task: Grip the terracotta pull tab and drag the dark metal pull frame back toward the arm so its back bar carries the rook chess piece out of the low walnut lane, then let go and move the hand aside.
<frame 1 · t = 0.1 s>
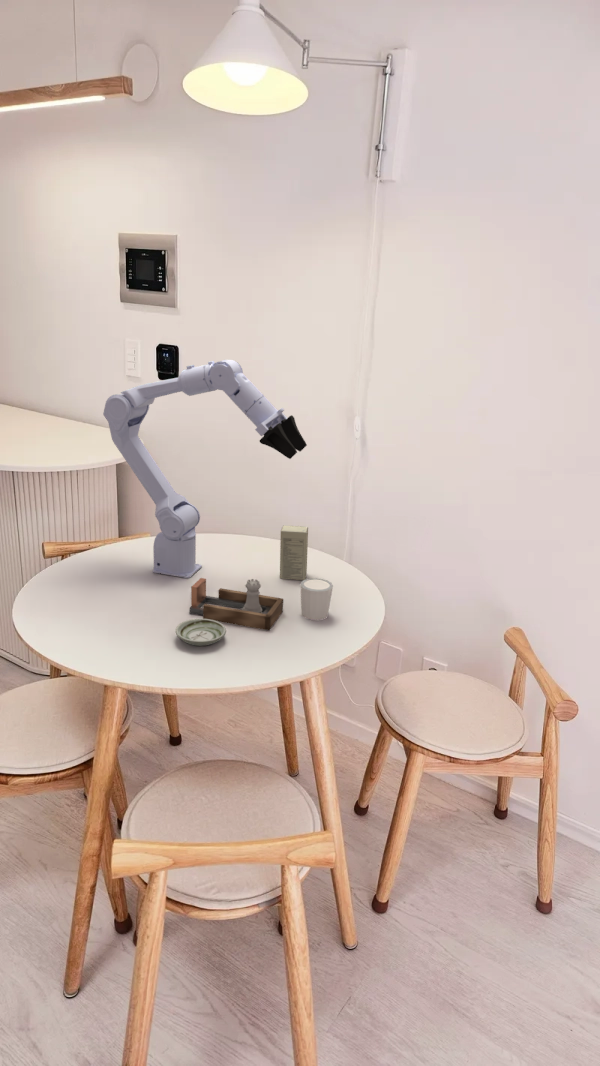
hand: (298, 452, 150), 32 cm above the table, tool tilted 50°, fingers open, 7 cm apart
shot glass: (314, 615, 148), on the table
pull frame: (231, 600, 146), point 3 cm above the table, slide at 0.0 cm
walnut lane: (243, 614, 146), on the table
rook chess piece: (252, 617, 146), resting in pull frame
skincare box: (292, 577, 167), on the table
saucer: (200, 641, 135), on the table
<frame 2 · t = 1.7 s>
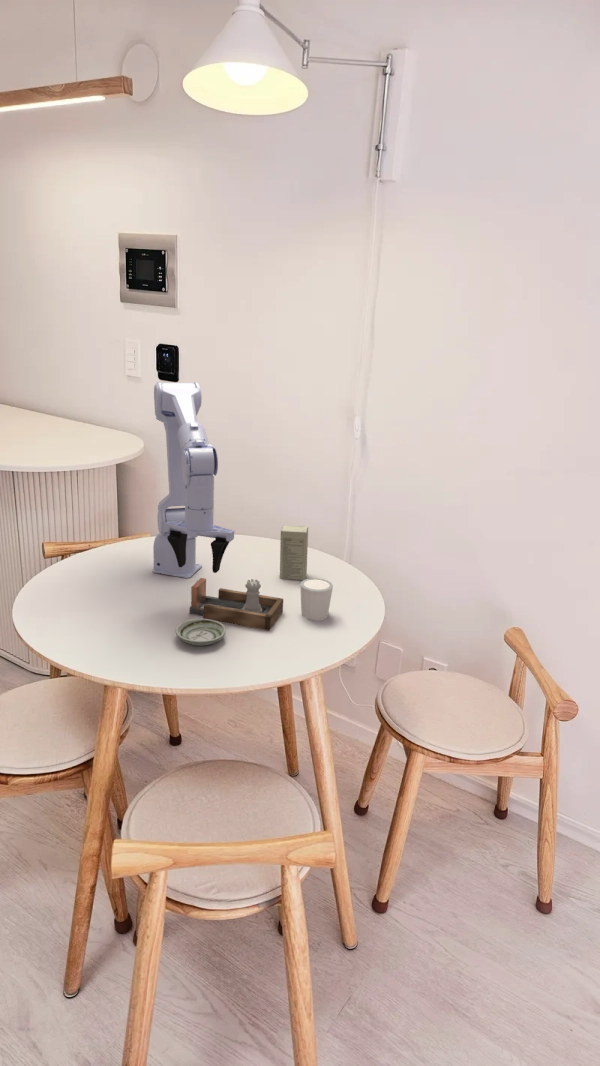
hand: (198, 568, 145), 9 cm above the table, tool pointing down, fingers open, 7 cm apart
nothing on the table moved.
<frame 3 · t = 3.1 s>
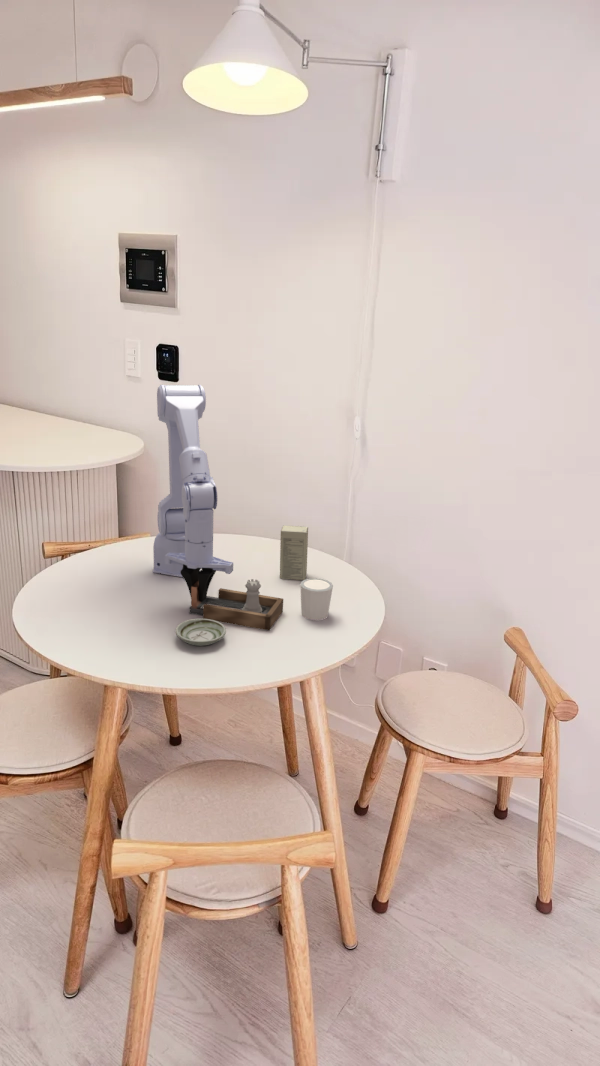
hand: (198, 599, 148), 2 cm above the table, tool pointing down, fingers closed on pull frame
pull frame: (231, 600, 146), point 3 cm above the table, slide at 0.0 cm, touching gripper
everything else where it was.
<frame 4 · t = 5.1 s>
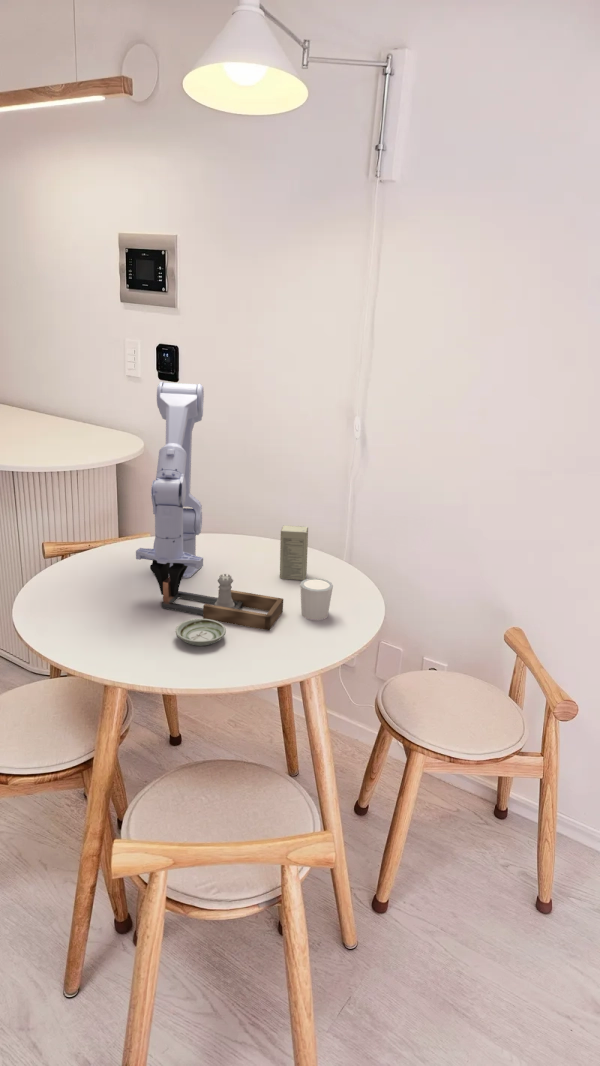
hand: (169, 594, 149), 2 cm above the table, tool pointing down, fingers closed
pull frame: (202, 595, 147), point 3 cm above the table, slide at 6.4 cm, touching gripper
rook chess piece: (224, 612, 147), resting in pull frame
everything else where it was.
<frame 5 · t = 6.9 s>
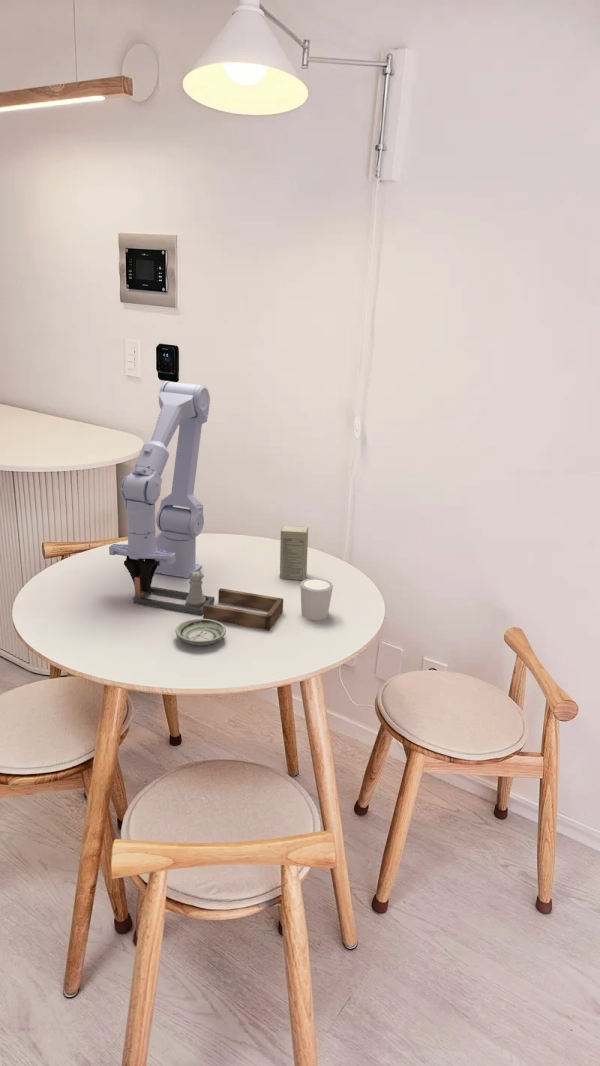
hand: (142, 589, 151), 2 cm above the table, tool pointing down, fingers closed on pull frame
pull frame: (174, 590, 149), point 3 cm above the table, slide at 13.0 cm, touching gripper
rook chess piece: (195, 607, 149), resting in pull frame
everything else where it was.
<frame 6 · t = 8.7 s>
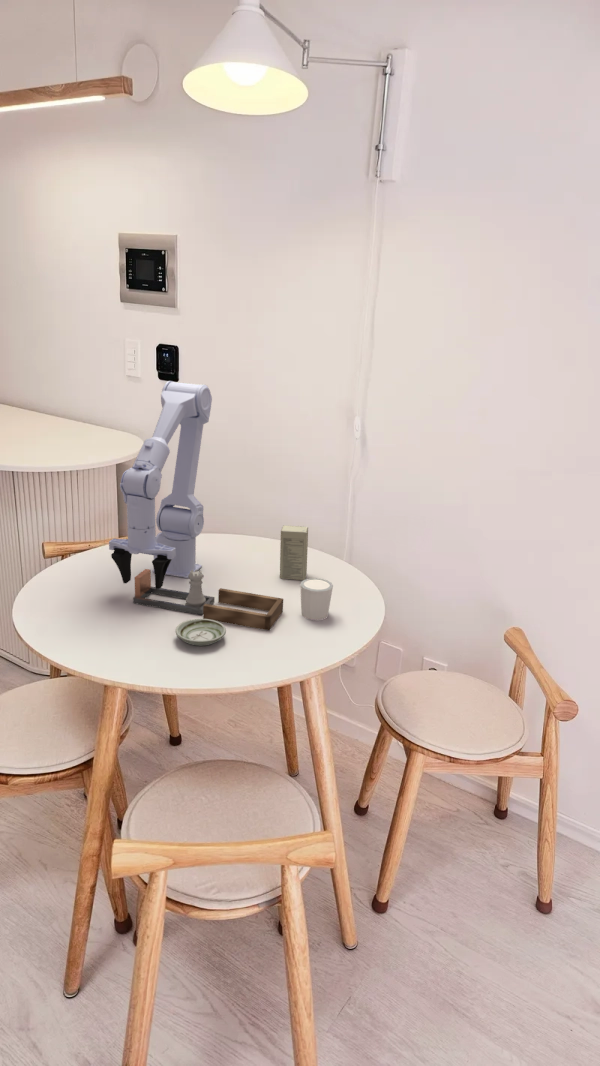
hand: (143, 584, 151), 3 cm above the table, tool pointing down, fingers open, 7 cm apart
pull frame: (174, 590, 149), point 3 cm above the table, slide at 13.0 cm
everything else where it was.
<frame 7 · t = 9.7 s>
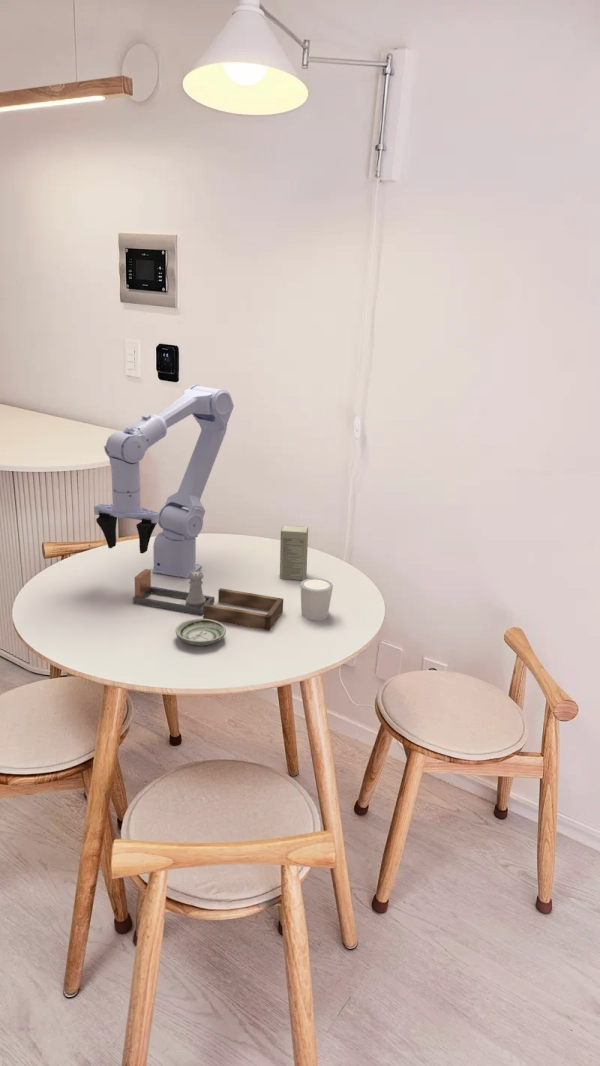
hand: (127, 549, 152), 9 cm above the table, tool pointing down, fingers open, 7 cm apart
nothing on the table moved.
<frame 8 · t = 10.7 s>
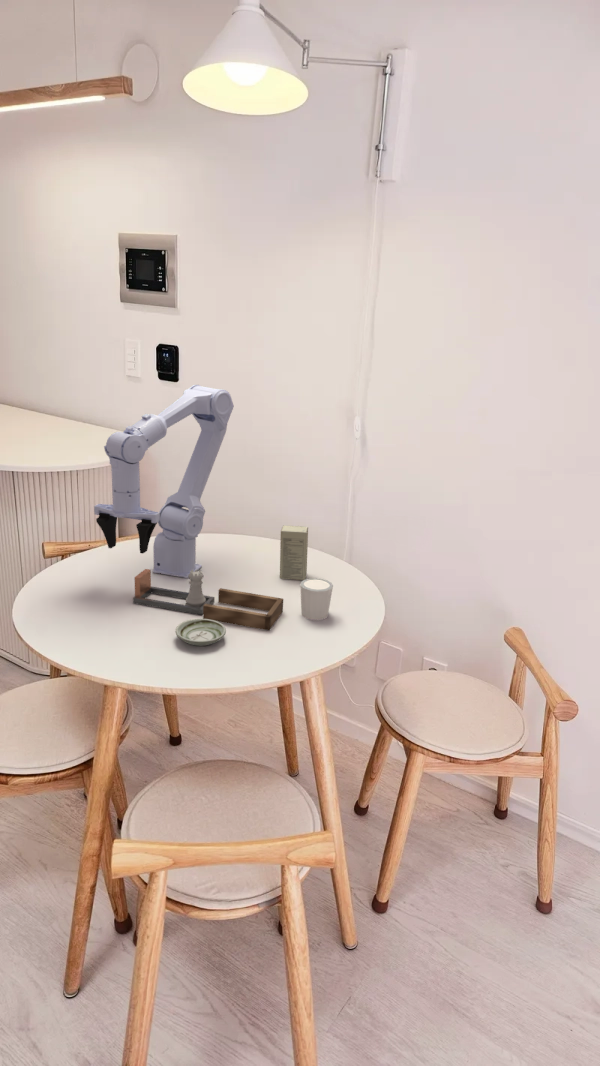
hand: (127, 549, 152), 9 cm above the table, tool pointing down, fingers open, 7 cm apart
nothing on the table moved.
at the end: rook chess piece inside the target area (2.0 cm from its centre), resting in pull frame; rook chess piece tilted 0°; pull frame slide at 13.0 cm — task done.
